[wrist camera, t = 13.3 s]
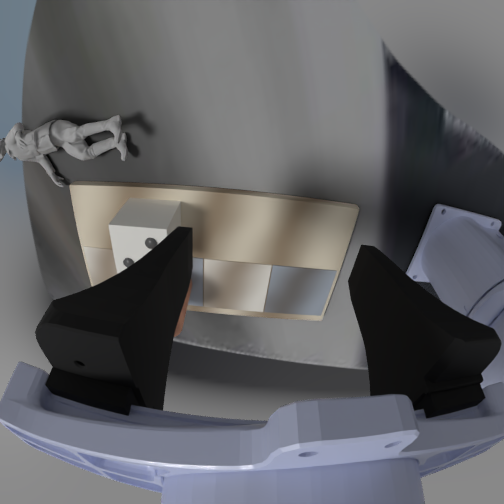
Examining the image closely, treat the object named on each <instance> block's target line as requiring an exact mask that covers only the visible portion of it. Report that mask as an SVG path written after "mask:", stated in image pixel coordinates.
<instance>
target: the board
mask: <svg viewBox="0 0 504 504" xmlns="http://www.w3.org/2000/svg"><path fill="white" fill-rule="evenodd" d="M70 192H71V198H72V204H73V209H74V214H75V220H76V224H77V229H78V234H79V238H80V243H81V247H82V251H83V255H84V259H85V263H86V267H87V271H88V274H89V278H90V281H91V285H92V287H93V286H95V285H97V284H99V283H101V282H103V281H105V280H107V279H109V278H111V277H113V276H114V275H116V274H118V273H117V269H116V265H115V259H114V254H113V249H112V243H111V237H110V231H109V223H110V222H111V221H112V219H113V218H114V217H115V215H116V214H117V213H118V212H119V210H120V209H121V208H122V207H123V205H124V204H125V203H126V202H127V200H128V199H129V198H142V199H159V200H173V201H181V227H192V228H193V269H192V275H191V279H192V289H191V293H190V298H189V302H188V306H187V310H192V311H201V312H210V313H220V314H231V315H242V316H254V317H267V318H281V319H297V320H316V321H322V318H323V316H324V313H325V310H326V308H327V305H328V302H329V300H330V297H331V294H332V291H333V289H334V286H335V283H336V280H337V277H338V275H339V272H340V269H341V266H342V263H343V260H344V257H345V254H346V251H347V248H348V245H349V242H350V239H351V235H352V232H353V229H354V226H355V222H356V219H357V216H358V212H359V208H358V206H357V205H356V204H350V203H343V202H336V201H329V200H322V199H315V198H307V197H299V196H291V195H283V194H274V193H265V192H255V191H245V190H235V189H224V188H212V187H199V186H186V185H170V184H152V183H130V182H97V181H74V182H73V183H71V184H70Z"/></svg>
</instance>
